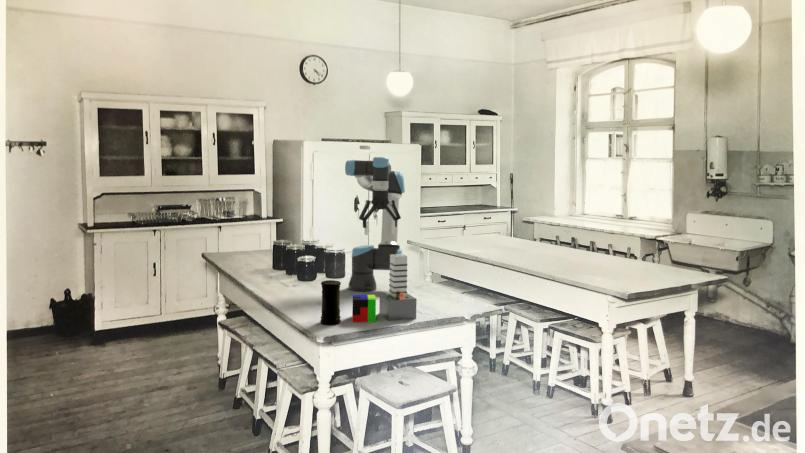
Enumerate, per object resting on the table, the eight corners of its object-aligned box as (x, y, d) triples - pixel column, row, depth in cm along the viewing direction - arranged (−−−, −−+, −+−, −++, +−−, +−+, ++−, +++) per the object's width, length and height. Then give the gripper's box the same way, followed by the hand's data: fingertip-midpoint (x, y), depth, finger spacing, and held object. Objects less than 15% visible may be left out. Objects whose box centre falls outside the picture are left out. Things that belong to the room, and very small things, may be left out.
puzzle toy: (352, 316, 297) (352, 294, 296) (374, 316, 298) (374, 294, 297) (352, 322, 287) (352, 300, 286) (375, 322, 288) (375, 299, 287)
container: (329, 318, 292) (329, 279, 290) (345, 322, 287) (345, 281, 285) (315, 323, 285) (315, 282, 283) (331, 326, 280) (331, 285, 277)
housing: (388, 320, 291) (389, 294, 289) (379, 313, 303) (379, 288, 301) (416, 318, 295) (416, 292, 294) (405, 311, 307) (406, 286, 306)
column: (393, 300, 294) (394, 256, 292) (388, 297, 300) (389, 254, 297) (406, 299, 296) (407, 256, 294) (401, 296, 302) (402, 253, 300)
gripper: (357, 190, 303) (356, 236, 306) (407, 190, 312) (407, 234, 315) (352, 189, 310) (352, 234, 313) (402, 189, 319) (401, 232, 322)
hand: (379, 234), depth 314 cm, fingers open, 13 cm apart
